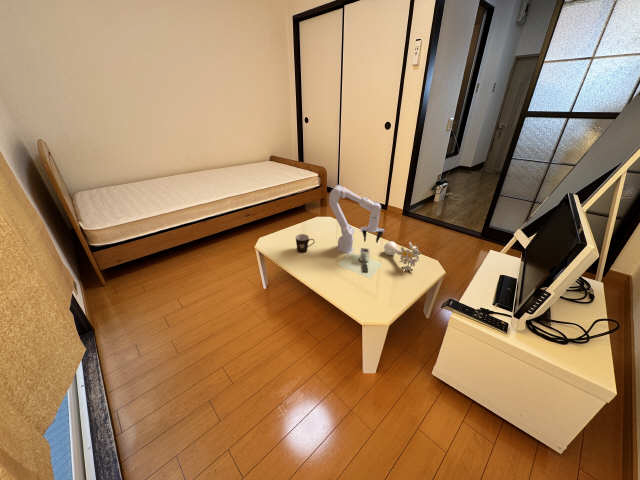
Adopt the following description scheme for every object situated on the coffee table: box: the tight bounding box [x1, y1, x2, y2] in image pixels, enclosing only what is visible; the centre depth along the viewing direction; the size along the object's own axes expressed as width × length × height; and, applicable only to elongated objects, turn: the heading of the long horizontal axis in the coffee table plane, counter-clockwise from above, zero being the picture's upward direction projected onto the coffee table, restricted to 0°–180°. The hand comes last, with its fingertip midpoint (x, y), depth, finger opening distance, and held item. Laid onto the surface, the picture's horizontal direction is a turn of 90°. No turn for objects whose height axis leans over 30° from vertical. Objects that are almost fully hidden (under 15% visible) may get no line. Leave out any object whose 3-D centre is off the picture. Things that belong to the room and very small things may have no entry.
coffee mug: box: [295, 233, 315, 254], centre depth 160 cm, size 12×9×10 cm
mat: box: [337, 251, 383, 279], centre depth 151 cm, size 22×18×1 cm
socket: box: [359, 247, 370, 261], centre depth 152 cm, size 5×5×6 cm
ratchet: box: [359, 257, 369, 273], centre depth 149 cm, size 16×6×4 cm, turn 176°
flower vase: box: [383, 240, 421, 271], centre depth 153 cm, size 13×18×25 cm
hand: (370, 241), depth 158 cm, fingers open, 7 cm apart
